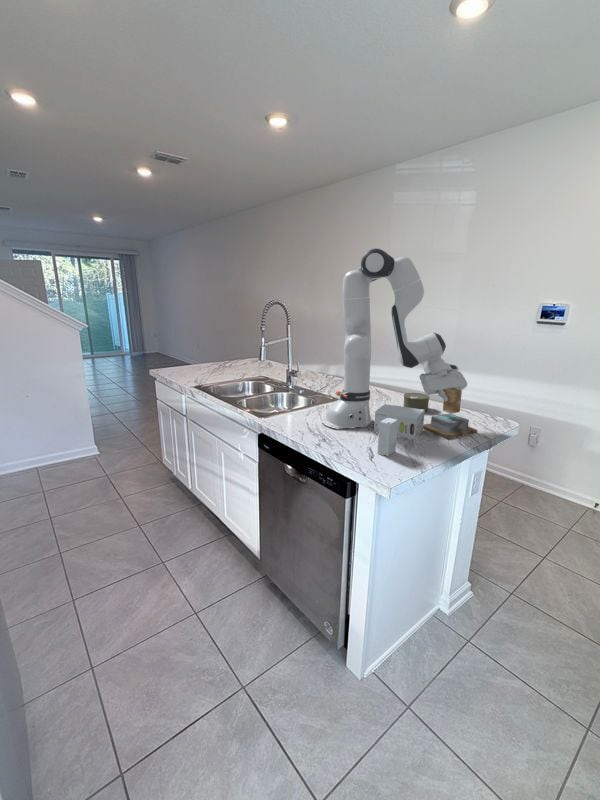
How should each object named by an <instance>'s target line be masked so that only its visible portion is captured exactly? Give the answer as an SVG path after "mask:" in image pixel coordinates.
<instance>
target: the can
mask: <svg viewBox="0 0 600 800" xmlns="http://www.w3.org/2000/svg"><path fill="white" fill-rule="evenodd" d="M429 401H430V395H428V394H426V393H419V392H408V393H404V394H403V407H408V408H416V409H423V410H425V413H426V412H428V411H429V404H430V403H429Z"/></svg>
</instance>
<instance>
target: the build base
mask: <svg viewBox="0 0 600 800" xmlns="http://www.w3.org/2000/svg"><path fill="white" fill-rule="evenodd" d="M430 418H431V421H430V423H426V424H423V431H427V432H429V433H431V434H434V435H435V436H439V437H441V438H442V439H446V440H451V439H454V437H456V438H459V437H458V436H461V437H464V436H463V435H466V436H470V435H469V434H471V435H475V434H474V433H476V434H478V429H477V428H473V427H470V426H469V422H470V420H469V419H467V418H466V417H465V418H464V417H462V416H459V415H456V414H454V413H452V414H451V413H448V412H447V413H443V414H437V415H432V416H431V417H430ZM450 438H451V439H450Z"/></svg>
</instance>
